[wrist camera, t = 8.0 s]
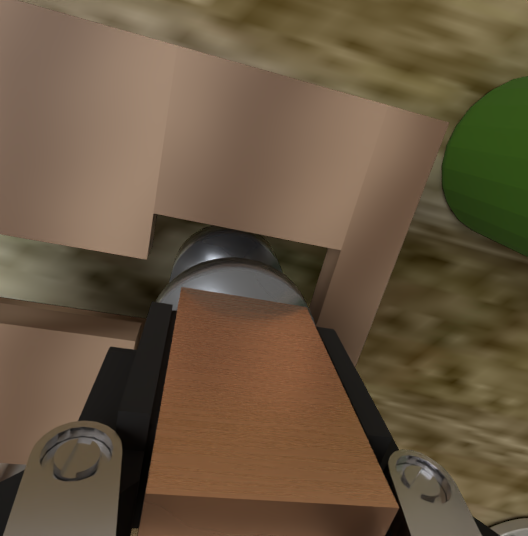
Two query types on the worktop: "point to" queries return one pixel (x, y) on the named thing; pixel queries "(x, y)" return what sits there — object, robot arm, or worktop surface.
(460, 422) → the worktop surface
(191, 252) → the keyhole pin
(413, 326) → the worktop surface
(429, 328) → the worktop surface
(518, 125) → the wine bottle
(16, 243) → the worktop surface
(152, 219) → the keyhole plate
